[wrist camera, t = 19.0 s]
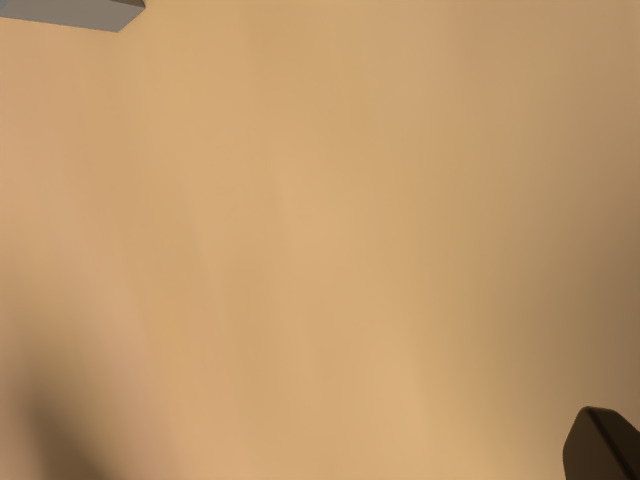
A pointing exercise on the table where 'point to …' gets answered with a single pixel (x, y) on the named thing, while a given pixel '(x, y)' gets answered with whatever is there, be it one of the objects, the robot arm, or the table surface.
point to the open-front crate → (75, 12)
